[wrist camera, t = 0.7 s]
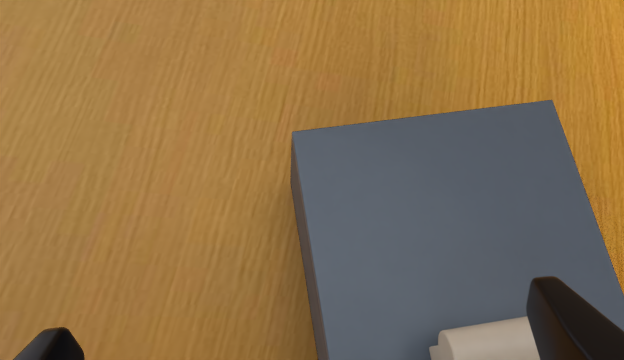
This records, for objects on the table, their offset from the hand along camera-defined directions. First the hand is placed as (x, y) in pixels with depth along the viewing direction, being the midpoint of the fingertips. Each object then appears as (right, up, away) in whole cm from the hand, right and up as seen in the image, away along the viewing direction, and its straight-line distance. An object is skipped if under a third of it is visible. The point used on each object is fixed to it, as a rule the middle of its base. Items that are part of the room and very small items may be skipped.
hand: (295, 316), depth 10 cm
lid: (+7, 0, +12) cm, 14 cm away
